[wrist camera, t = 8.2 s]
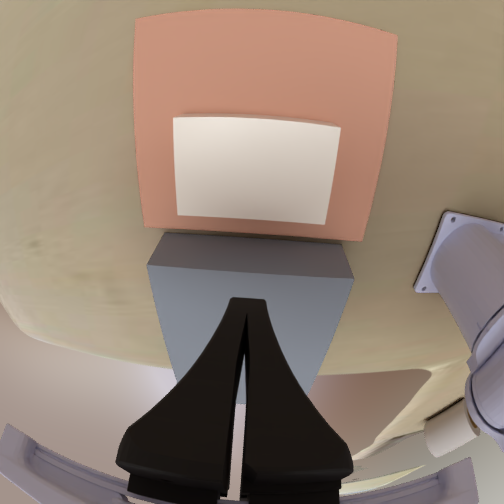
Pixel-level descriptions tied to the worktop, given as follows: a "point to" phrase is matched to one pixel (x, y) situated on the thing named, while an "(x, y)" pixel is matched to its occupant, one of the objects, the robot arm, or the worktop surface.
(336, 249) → the plate
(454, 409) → the toilet paper
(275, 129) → the white rectangular block
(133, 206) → the worktop surface
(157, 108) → the terracotta mat
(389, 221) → the worktop surface
